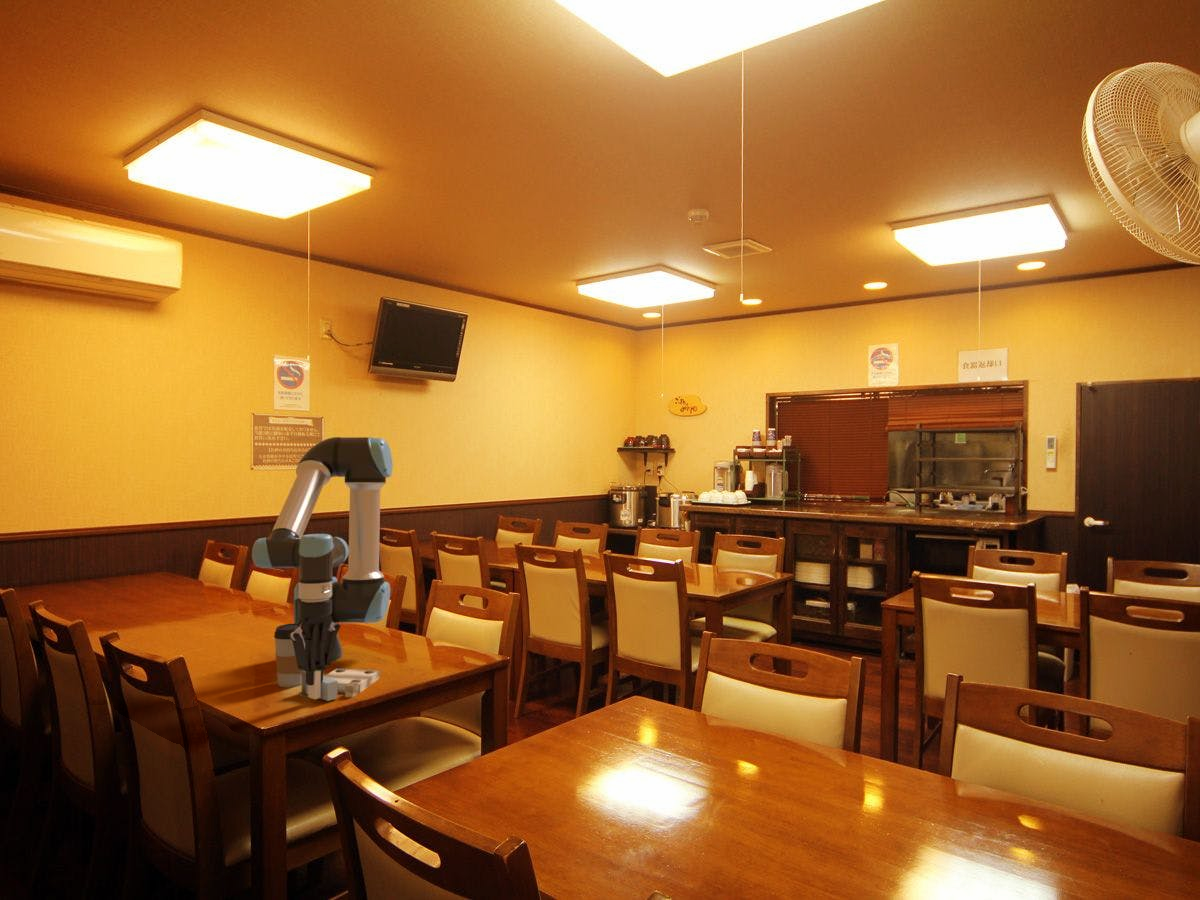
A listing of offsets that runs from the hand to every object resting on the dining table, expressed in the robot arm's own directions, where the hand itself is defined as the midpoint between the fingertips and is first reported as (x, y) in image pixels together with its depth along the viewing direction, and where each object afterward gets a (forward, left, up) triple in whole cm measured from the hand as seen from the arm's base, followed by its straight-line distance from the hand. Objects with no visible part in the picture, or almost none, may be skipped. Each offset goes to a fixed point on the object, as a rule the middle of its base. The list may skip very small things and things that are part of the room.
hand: (314, 697), depth 181 cm
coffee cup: (-13, -13, -2) cm, 19 cm away
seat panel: (-14, +2, -2) cm, 14 cm away
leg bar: (-6, -5, -2) cm, 8 cm away
